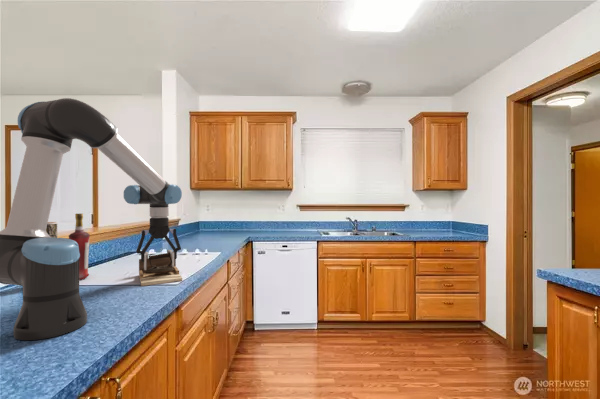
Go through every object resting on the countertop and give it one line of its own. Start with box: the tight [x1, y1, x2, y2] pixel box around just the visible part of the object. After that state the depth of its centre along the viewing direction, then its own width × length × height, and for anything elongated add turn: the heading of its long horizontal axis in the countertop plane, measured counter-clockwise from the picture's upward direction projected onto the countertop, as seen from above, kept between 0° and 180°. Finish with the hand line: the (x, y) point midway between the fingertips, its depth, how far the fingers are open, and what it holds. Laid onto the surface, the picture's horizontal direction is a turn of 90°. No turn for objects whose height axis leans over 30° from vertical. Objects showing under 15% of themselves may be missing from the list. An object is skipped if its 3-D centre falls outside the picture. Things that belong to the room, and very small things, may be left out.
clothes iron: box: [145, 252, 174, 274], centre depth 133 cm, size 7×11×10 cm, turn 129°
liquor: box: [68, 213, 91, 281], centre depth 131 cm, size 7×7×28 cm
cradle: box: [138, 249, 183, 287], centre depth 133 cm, size 20×15×10 cm
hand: (159, 267), depth 134 cm, fingers closed on clothes iron, 10 cm apart
